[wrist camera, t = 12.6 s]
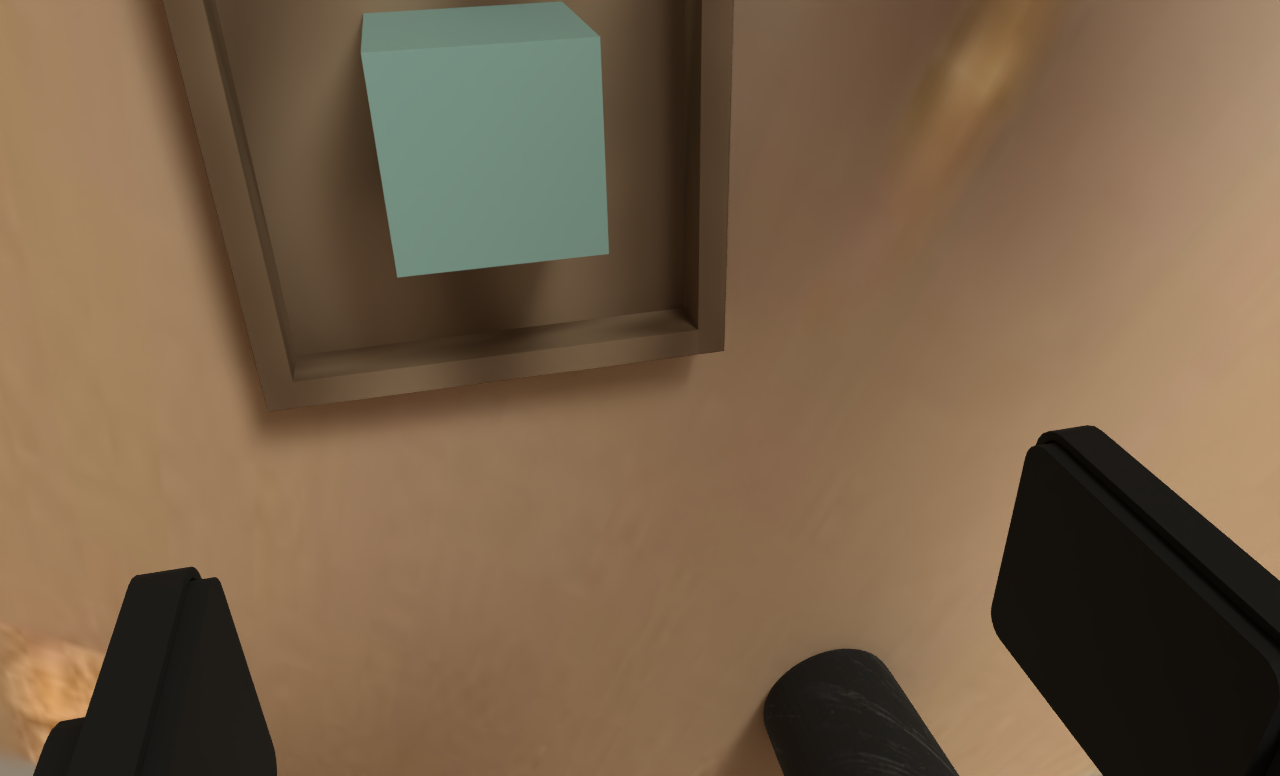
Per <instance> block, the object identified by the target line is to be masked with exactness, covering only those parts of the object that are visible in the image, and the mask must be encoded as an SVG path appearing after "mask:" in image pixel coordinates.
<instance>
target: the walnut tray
mask: <svg viewBox="0 0 1280 776" xmlns="http://www.w3.org/2000/svg"><path fill="white" fill-rule="evenodd" d="M545 2H563V3H564V4H565V5H566V6H567V7H569V8H570V9H571V10H572V11H573V12H574V13H575V14H576V15H577V16H578V17H579V18H580V19H582V20H583V21H584V22H585V23H586V24H587V25H588V26H589V27H590V28H591V29H592V30H593V31H595V32H596V33H597V34H598V35H599V36H600V45H601V70H602V95H603V119H604V144H605V168H606V193H607V217H608V242H609V254H604V255H595V256H586V257H577V258H568V259H559V260H550V261H541V262H532V263H523V264H514V265H505V266H496V267H487V268H478V269H469V270H460V271H451V272H442V273H433V274H425V275H416V276H407V277H398V278H397V272H396V266H395V260H394V254H393V248H392V242H391V236H390V229H389V223H388V217H387V211H386V205H385V199H384V193H383V187H382V180H381V174H380V168H379V162H378V156H377V150H376V144H375V137H374V131H373V125H372V119H371V113H370V107H369V101H368V95H367V88H366V82H365V76H364V70H363V64H362V58H361V41H362V26H363V13H379V12H396V11H412V10H429V9H446V8H462V7H479V6H495V5H512V4H529V3H545ZM163 4H164V8H165V12H166V16H167V20H168V24H169V28H170V31H171V35H172V39H173V43H174V47H175V51H176V55H177V59H178V63H179V67H180V70H181V74H182V78H183V82H184V86H185V90H186V94H187V98H188V102H189V106H190V110H191V113H192V117H193V121H194V125H195V129H196V133H197V137H198V141H199V145H200V149H201V152H202V156H203V160H204V164H205V168H206V172H207V176H208V180H209V184H210V188H211V191H212V195H213V199H214V203H215V207H216V211H217V215H218V219H219V223H220V227H221V231H222V234H223V238H224V242H225V246H226V250H227V254H228V258H229V262H230V266H231V270H232V273H233V277H234V281H235V285H236V289H237V293H238V297H239V301H240V305H241V309H242V312H243V316H244V320H245V324H246V328H247V332H248V336H249V340H250V344H251V348H252V352H253V355H254V359H255V363H256V367H257V371H258V375H259V379H260V383H261V387H262V391H263V394H264V398H265V402H266V406H267V410H268V412H270V411H277V410H285V409H292V408H300V407H307V406H315V405H322V404H330V403H337V402H345V401H352V400H360V399H367V398H375V397H382V396H390V395H397V394H405V393H412V392H420V391H427V390H435V389H442V388H450V387H457V386H465V385H472V384H480V383H487V382H495V381H502V380H510V379H517V378H525V377H532V376H540V375H547V374H555V373H562V372H570V371H577V370H585V369H592V368H600V367H607V366H615V365H622V364H630V363H637V362H645V361H652V360H660V359H667V358H675V357H682V356H690V355H697V354H705V353H712V352H720V351H724V338H725V301H726V265H727V228H728V191H729V154H730V118H731V81H732V44H733V7H734V0H163Z"/></svg>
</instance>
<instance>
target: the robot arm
mask: <svg viewBox="0 0 1280 776" xmlns="http://www.w3.org/2000/svg"><path fill="white" fill-rule="evenodd" d="M991 618H992V623H993V627H994V629H995V631H996V634H997V635H998V637H999V639H1000V640H1001V641H1002V643H1003V644H1004V645H1005V647H1006V648H1007V649H1008V651H1009V652H1010V653H1011V655H1012V656H1013V657H1014V659H1015V660H1016V661H1017V663H1018V664H1019V665H1020V667H1021V668H1022V669H1023V670H1024V672H1025V673H1026V674H1027V676H1028V677H1029V678H1030V680H1031V681H1032V682H1033V684H1034V685H1035V686H1036V688H1037V689H1038V690H1039V692H1040V693H1041V694H1042V696H1043V697H1044V698H1045V699H1046V701H1047V702H1048V703H1049V705H1050V706H1051V707H1052V709H1053V710H1054V711H1055V713H1056V714H1057V715H1058V717H1059V718H1060V719H1061V721H1062V722H1063V723H1064V725H1065V726H1066V727H1067V729H1068V730H1069V731H1070V732H1071V734H1072V735H1073V736H1074V738H1075V739H1076V740H1077V742H1078V743H1079V744H1080V746H1081V747H1082V748H1083V750H1084V751H1085V752H1086V754H1087V755H1088V756H1089V758H1090V759H1091V760H1092V761H1093V763H1094V764H1095V765H1096V767H1097V768H1098V769H1099V771H1100V772H1101V773H1102V775H1103V776H1280V581H1279V580H1278V579H1277V578H1276V577H1275V576H1273V575H1272V574H1271V573H1270V572H1269V571H1267V570H1266V569H1265V568H1264V567H1263V566H1262V565H1260V564H1259V563H1258V562H1257V561H1256V560H1254V559H1253V558H1252V557H1251V556H1250V555H1248V554H1247V553H1246V552H1245V551H1244V550H1243V549H1241V548H1240V547H1239V546H1238V545H1237V544H1235V543H1234V542H1233V541H1232V540H1231V539H1230V538H1228V537H1227V536H1226V535H1225V534H1224V533H1222V532H1221V531H1220V530H1219V529H1218V528H1216V527H1215V526H1214V525H1213V524H1212V523H1211V522H1209V521H1208V520H1207V519H1206V518H1205V517H1203V516H1202V515H1201V514H1200V513H1199V512H1198V511H1196V510H1195V509H1194V508H1193V507H1192V506H1190V505H1189V504H1188V503H1187V502H1186V501H1184V500H1183V499H1182V498H1181V497H1180V496H1179V495H1177V494H1176V493H1175V492H1174V491H1173V490H1171V489H1170V488H1169V487H1168V486H1167V485H1165V484H1164V483H1163V482H1162V481H1161V480H1160V479H1158V478H1157V477H1156V476H1155V475H1154V474H1152V473H1151V472H1150V471H1149V470H1148V469H1147V468H1145V467H1144V466H1143V465H1142V464H1141V463H1139V462H1138V461H1137V460H1136V459H1135V458H1133V457H1132V456H1131V455H1130V454H1129V453H1128V452H1126V451H1125V450H1124V449H1123V448H1122V447H1120V446H1119V445H1118V444H1117V443H1116V442H1115V441H1113V440H1112V439H1111V438H1110V437H1109V436H1107V435H1106V434H1105V433H1104V432H1103V431H1101V430H1100V429H1098V428H1096V427H1095V426H1089V425H1086V426H1080V427H1074V428H1067V429H1061V430H1055V431H1049V432H1046V433H1043V434H1042V435H1041V436H1040V437H1039V439H1038V441H1037V443H1036V446H1033V447H1031V448H1030V449H1029V450H1028V452H1027V454H1026V457H1025V461H1024V466H1023V470H1022V475H1021V479H1020V483H1019V488H1018V492H1017V497H1016V501H1015V505H1014V510H1013V514H1012V519H1011V523H1010V527H1009V532H1008V536H1007V541H1006V545H1005V549H1004V554H1003V558H1002V563H1001V567H1000V571H999V576H998V580H997V585H996V589H995V593H994V598H993V602H992V607H991ZM33 776H277V765H276V756H275V750H274V746H273V743H272V740H271V737H270V734H269V731H268V728H267V724H266V721H265V718H264V715H263V712H262V709H261V706H260V703H259V700H258V697H257V693H256V690H255V687H254V684H253V681H252V678H251V675H250V672H249V669H248V665H247V662H246V659H245V656H244V653H243V650H242V647H241V644H240V641H239V638H238V634H237V631H236V628H235V625H234V622H233V619H232V616H231V613H230V610H229V607H228V603H227V600H226V597H225V594H224V591H223V588H222V585H221V583H220V581H219V580H218V578H216V577H213V578H207V579H201V576H200V574H199V572H198V571H197V569H196V568H194V567H187V568H180V569H174V570H168V571H161V572H155V573H149V574H142V575H136V576H135V577H133V578H132V579H131V581H130V584H129V586H128V589H127V592H126V595H125V598H124V601H123V604H122V607H121V610H120V613H119V616H118V619H117V622H116V625H115V628H114V631H113V634H112V637H111V640H110V643H109V646H108V649H107V652H106V655H105V658H104V662H103V665H102V668H101V671H100V674H99V677H98V680H97V683H96V686H95V689H94V692H93V695H92V698H91V701H90V704H89V707H88V710H87V713H86V716H85V717H83V718H77V719H72V720H66V721H61V722H59V723H58V724H57V725H56V726H55V727H54V728H53V729H52V730H51V732H50V734H49V736H48V738H47V740H46V742H45V744H44V747H43V750H42V752H41V755H40V758H39V761H38V763H37V766H36V769H35V772H34V774H33Z"/></svg>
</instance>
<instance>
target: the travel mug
mask: <svg viewBox="0 0 1280 776" xmlns="http://www.w3.org/2000/svg"><path fill="white" fill-rule="evenodd" d="M764 722H765V726H766V729H767V732H768V735H769V738H770V740H771V743H772V746H773V748H774V751H775V753H776V756H777V759H778V761H779V764H780V766H781V769H782V771H783V774H784V776H959V775H958V773H957V772H956V770H955V769H954V767H953V766H952V764H951V763H950V761H949V760H948V758H947V757H946V755H945V753H944V752H943V750H942V749H941V747H940V746H939V744H938V743H937V741H936V740H935V738H934V737H933V735H932V734H931V732H930V731H929V729H928V728H927V726H926V725H925V723H924V722H923V720H922V719H921V717H920V716H919V714H918V713H917V711H916V710H915V708H914V707H913V705H912V704H911V702H910V701H909V699H908V697H907V696H906V694H905V693H904V691H903V690H902V688H901V687H900V686H899V684H898V683H897V681H896V680H895V678H894V677H893V675H892V674H891V672H890V671H889V670H888V668H887V667H886V666H885V664H884V663H883V662H882V661H881V660H880V659H878V658H877V657H876V656H874V655H873V654H871V653H868V652H865V651H861V650H856V649H840V650H833V651H828V652H824V653H821V654H818V655H816V656H813V657H811V658H809V659H807V660H805V661H803V662H801V663H800V664H798V665H796V666H795V667H793V668H792V669H791V670H790V671H788V672H787V673H786V674H785V675H784V676H783V677H782V678H781V679H780V680H779V681H778V682H777V683H776V684H775V686H774V687H773V689H772V690H771V692H770V694H769V695H768V697H767V700H766V703H765V707H764Z"/></svg>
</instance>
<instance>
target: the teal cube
mask: <svg viewBox="0 0 1280 776" xmlns="http://www.w3.org/2000/svg"><path fill="white" fill-rule="evenodd" d="M361 58H362V64H363V70H364V76H365V82H366V88H367V95H368V101H369V107H370V113H371V119H372V125H373V131H374V137H375V144H376V150H377V156H378V162H379V168H380V174H381V180H382V187H383V193H384V199H385V205H386V211H387V217H388V223H389V229H390V236H391V242H392V248H393V254H394V260H395V266H396V272H397V278H398V277H407V276H416V275H425V274H433V273H442V272H451V271H460V270H469V269H478V268H487V267H496V266H505V265H514V264H523V263H532V262H541V261H550V260H559V259H568V258H577V257H586V256H595V255H604V254H609V242H608V217H607V193H606V168H605V144H604V119H603V95H602V70H601V45H600V36H599V35H598V34H597V33H596V32H595V31H593V30H592V29H591V28H590V27H589V26H588V25H587V24H586V23H585V22H584V21H583V20H582V19H580V18H579V17H578V16H577V15H576V14H575V13H574V12H573V11H572V10H571V9H570V8H569V7H567V6H566V5H565V4H564V3H563V2H545V3H529V4H512V5H495V6H479V7H462V8H446V9H429V10H412V11H396V12H379V13H363V26H362V41H361Z"/></svg>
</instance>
